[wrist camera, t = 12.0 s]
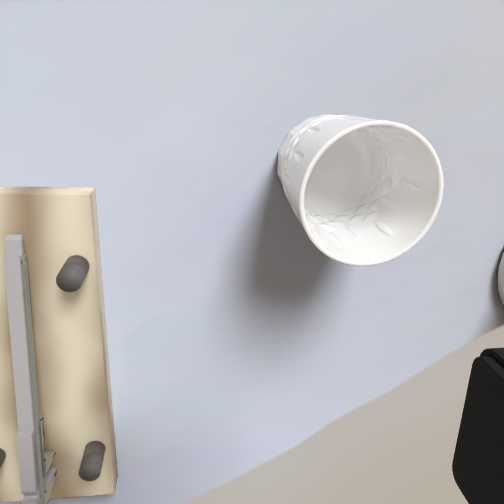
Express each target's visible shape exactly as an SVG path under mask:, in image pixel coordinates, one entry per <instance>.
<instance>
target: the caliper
mask: <svg viewBox="0 0 504 504" xmlns="http://www.w3.org/2000/svg"><path fill="white" fill-rule="evenodd" d="M5 246H6V256H5V257H4V269H5V281H6V293H7V304H8V316H9V328H10V339H11V351H12V362H13V374H14V385H15V397H16V408H17V420H18V433H17V448H18V461H19V473H20V485H21V494H24V496H23V500H22V501H21V503H20V504H48V501H49V498H50V494H51V491H52V488H53V485H54V482H55V479H56V474H57V468H51V469H49V467H50V465H51V463H52V461H53V458H54V456H55V454H56V452H55V451H54V450H53V451H44V436H45V435H44V430H43V416H39V405H38V392H37V379H36V366H35V354H34V340H33V327H32V314H31V300H30V287H29V274H28V260H27V253H24V242H23V235H22V234H9V235H6V239H5Z"/></svg>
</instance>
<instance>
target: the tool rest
mask: <svg viewBox="0 0 504 504" xmlns="http://www.w3.org/2000/svg"><path fill="white" fill-rule="evenodd" d="M9 234H22V235H23V242H24V253H27V260H28V274H29V287H30V300H31V314H32V327H33V340H34V354H35V366H36V379H37V392H38V405H39V416H43V430H44V435H45V436H44V451H53V450H54V451H55V452H56V454H55V456H54V458H53V461H52V463H51V465H50V467H49V469H51V468H57V474H56V479H55V482H54V485H53V488H52V491H51V494H50V498H49V499H54V498H67V497H80V496H93V495H107V494H115V488H116V482H117V476H118V473H117V461H116V448H115V435H114V423H113V410H112V397H111V385H110V372H109V359H108V347H107V334H106V321H105V309H104V296H103V283H102V271H101V258H100V245H99V233H98V220H97V207H96V195H95V188H76V187H0V503H1V502H14V501H22V500H23V496H24V494H21V485H20V473H19V461H18V448H17V433H18V420H17V408H16V397H15V385H14V374H13V362H12V351H11V339H10V328H9V316H8V304H7V293H6V281H5V269H4V257H5V256H6V246H5V239H6V235H9Z"/></svg>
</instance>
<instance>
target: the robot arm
mask: <svg viewBox="0 0 504 504" xmlns="http://www.w3.org/2000/svg"><path fill="white" fill-rule="evenodd" d="M497 281H498V291H499V295H500V298H501V301H502V304H503V305H504V252H503V255H502V258H501V262H500V265H499V271H498V280H497ZM452 468H453V469H452V470H453V475H454V478H455V481H456V483H457V485H458V487H459V489H460V490H461V492H462V493H463V495H464V496H465V498H466V500H467V501H468V503H469V504H504V348H491V349H485V350H483V352H482V353H481V355H480V357H477V358H475V360H474V361H473V364H472V369H471V374H470V379H469V384H468V389H467V395H466V399H465V404H464V409H463V414H462V419H461V424H460V429H459V434H458V438H457V443H456V448H455V453H454V459H453V465H452Z"/></svg>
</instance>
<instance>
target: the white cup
mask: <svg viewBox="0 0 504 504" xmlns="http://www.w3.org/2000/svg"><path fill="white" fill-rule="evenodd" d="M277 174H278V176H279V179H280V181H281V183H282V186H283V189H284V192H285V195H286V197H287V199H288V201H289V203H290V205H291V207H292V209H293V211H294V213H295V214H296V216H297V218H298V219H299V221H300V223H301V224H302V226H303V228H304V230H305V231H306V233H307V235H308V237H309V238H310V240H311V241H312V243H313V244H314V245H315V246H316V247H317V248H318V249H319V250H320V251H321V252H322V253H324V254H325V255H326V256H328V257H330V258H331V259H333V260H335V261H338V262H340V263H343V264H347V265H353V266H372V265H378V264H382V263H385V262H388V261H391V260H393V259H395V258H397V257H399V256H401V255H402V254H404V253H406V252H407V251H408V250H410V249H411V248H412V247H413V246H415V245H416V244H417V243H418V242H419V241H420V240H421V239H422V238H423V236H424V235H425V234H426V233H427V231H428V230H429V229H430V227H431V225H432V224H433V222H434V220H435V218H436V216H437V213H438V211H439V208H440V205H441V201H442V196H443V173H442V168H441V164H440V161H439V158H438V156H437V154H436V152H435V150H434V149H433V147H432V146H431V144H430V143H429V142H428V141H427V140H426V139H425V138H424V137H423V136H422V135H421V134H420V133H418V132H417V131H415V130H414V129H412V128H410V127H408V126H406V125H403V124H400V123H397V122H392V121H385V120H378V119H372V118H365V117H359V116H348V115H330V114H326V115H321V116H316V117H312V118H307V119H305V120H304V121H303V122H301V123H300V124H299V125H297V126H296V127H295V128H294V129H292V130H291V131H290V132H289V133H288V134H287V136H286V138H285V140H284V142H283V144H282V146H281V148H280V150H279V152H278V168H277Z"/></svg>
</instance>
